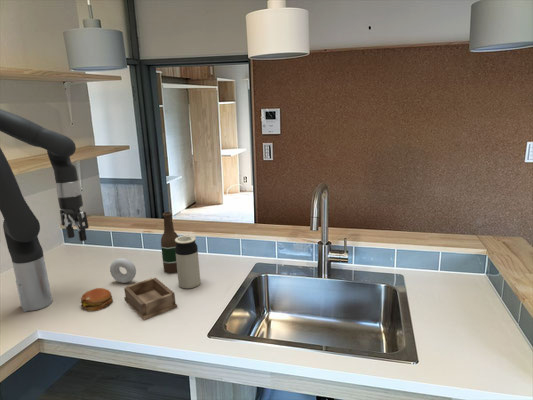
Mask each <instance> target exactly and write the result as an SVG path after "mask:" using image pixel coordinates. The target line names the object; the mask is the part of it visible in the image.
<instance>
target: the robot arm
mask: <svg viewBox="0 0 533 400" xmlns="http://www.w3.org/2000/svg"><path fill="white" fill-rule="evenodd" d="M0 132H1V133H3V134H5V135H8V136H10V137H12V138H14V139H15V140H19V141H20V142H23V143H24V144H26V145H27V144H28V145H30V146H32V147H36V148H41V149H44V150H45V151H46V152H47V156H48V159H49V161H50V162H49V163H50V165H51V166H52V169H53V174H54V179H55V186H56V187H55V188H56V189H55V190H56V195H57V196H56V197H57V202H58V207H59V214H60V215H59V216H60V221H61V222H60V223H61V226H62V227H64V228H65V229H66V235H67V238H68V239H72V238H74V237H75V230H74V227H75V228H76V229H77V231H78V232H77V233H78V238H79V242H84V241H87V234H86V232H87V231H86V230H87V229H89V228H90V227H89V223H88V217H87V212H86V211H81V207H83V206H84V202H83V197H82V190H81V185H80V182H79V178H78V171H77V168H76V165H74V164H73V163H72V161H71V158H70V157H71V156H73V155H74V154H75V152H76V151H77V150H76V149H77V146H76V144H75V141H74V140H72V138H70V137H68V136H67V135H64V134H62V133H59V132H56V131H54V130H51V129H48V128H45V127H43V126H42V125H40V124H37V123H36V122H34V121H32V120H29V119H28V118H25V117H24V116H23V117H22V116H20V115H17V114H16V113H15V114H14V113H12V112H9V111H7V110H4V109H1V108H0ZM5 155H6V154H4V152H3V150H2V148H1V147H0V212H1V215H2V218H3V222H2V229H3V234H4V237H5V241H6V246H7V250H8V253H9V255H10V258H11V262H12V268H13V271H14V276H15V284H16V288H17V294H18V297H19V302H20V306H21V309H22V311H23V313H25V312H32V311H37V310H41V309H44V308H46V307H48V306H49V305H51V304H52V302H53V297H52V291H51V288H50V282H49V276H48V271H47V266H46V261H45V255H44V251H43V250H44V249H43V247H42V245H41V243H40V240H39V237H38V236H39V233H40V231H41V225H40V222H39V219H38V218H37V216H36V214H35V213H34V212H33V211H32V209H31V208H30V206H29V205H28V203H27V201H26V199H25V198H24V196H23V194H22V190H21V188H20V186H19V183H18V181H17V178H16V177H15V174H14V172H13V170H12V167H11V165H10V163H9V161H8V160H7V159H8V158H7V157H6V156H5ZM73 226H74V227H73Z"/></svg>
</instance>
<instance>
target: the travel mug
mask: <svg viewBox="0 0 533 400" xmlns="http://www.w3.org/2000/svg"><path fill="white" fill-rule="evenodd" d="M196 239H197V237H196V236H195V235H192V234H191V235H190V234H185V235H181V236H178V237H177V238H176V239H175V242H176V244H177V245H176V247H175V252H176V262H177V281H178V286H179V287H180V288H183V289H193V288H196V287H197V286H199V285H200V284H201V274H200V261H199V250H198V248H199V247H198V244H197V242H196Z"/></svg>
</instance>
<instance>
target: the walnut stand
mask: <svg viewBox="0 0 533 400" xmlns="http://www.w3.org/2000/svg"><path fill="white" fill-rule="evenodd" d="M123 291H124V297H123V298H124V301H125V302H126V304H128V305H129V306H130V307H131V308H132V310H134V311H135V312H136V314H137V315H138V316H139V317H140V318H141V319H142V320H143V321H145V320H148V319H150V318H153V317H156V316H158V315H159V316H160V315H161V314H164V313H166V312H169V311H171V310H175V309H177V308H178V304H177V303H176V295H175V292H174V291H173V290H171V288H170V287H168V286H166V284H164V283H163V282H162V281H160V280H159V279H158V278H157V277H153V278H152V277H150V278H148V279H145V280H142V281H138V282H135V283H132V284H129V285H127V286H125V287H124V289H123Z"/></svg>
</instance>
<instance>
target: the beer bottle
mask: <svg viewBox="0 0 533 400" xmlns="http://www.w3.org/2000/svg"><path fill="white" fill-rule="evenodd" d="M172 216H173V214H172V211H165V212H163V213H162V217H163V234H162V235H161V237H160V238H161V239H160V246H161V247H160V248H161V257H162V266H163V271H164V273H166V274H170V275H171V274H175V273H176V274H178V272H177V262H176V252H175V247H176V245H177V244H176V242H175V239H176V238H177V237H179V235H178V234H177V233H176V231H175V229H174V223H173V217H172Z"/></svg>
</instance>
